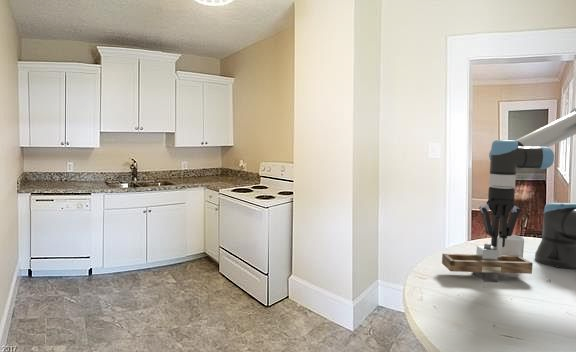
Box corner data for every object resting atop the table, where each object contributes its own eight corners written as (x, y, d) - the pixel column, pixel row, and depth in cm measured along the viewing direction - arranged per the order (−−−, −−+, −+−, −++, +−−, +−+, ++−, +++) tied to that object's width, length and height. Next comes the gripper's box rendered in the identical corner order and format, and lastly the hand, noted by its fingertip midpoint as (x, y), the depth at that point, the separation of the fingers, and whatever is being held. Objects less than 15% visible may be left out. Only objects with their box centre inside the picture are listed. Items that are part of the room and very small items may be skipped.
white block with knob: (490, 260, 128) (492, 242, 127) (497, 264, 123) (498, 246, 123) (476, 260, 128) (477, 242, 127) (481, 264, 123) (483, 246, 123)
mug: (517, 272, 131) (520, 241, 130) (490, 265, 137) (492, 236, 136) (527, 264, 139) (529, 235, 138) (501, 259, 146) (503, 231, 144)
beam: (516, 273, 130) (517, 254, 129) (532, 283, 121) (533, 263, 120) (441, 271, 131) (441, 252, 130) (450, 280, 122) (451, 261, 122)
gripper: (515, 185, 126) (510, 253, 129) (476, 185, 127) (472, 252, 129) (528, 188, 119) (523, 260, 121) (486, 187, 119) (482, 259, 122)
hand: (497, 256), depth 125 cm, fingers closed
